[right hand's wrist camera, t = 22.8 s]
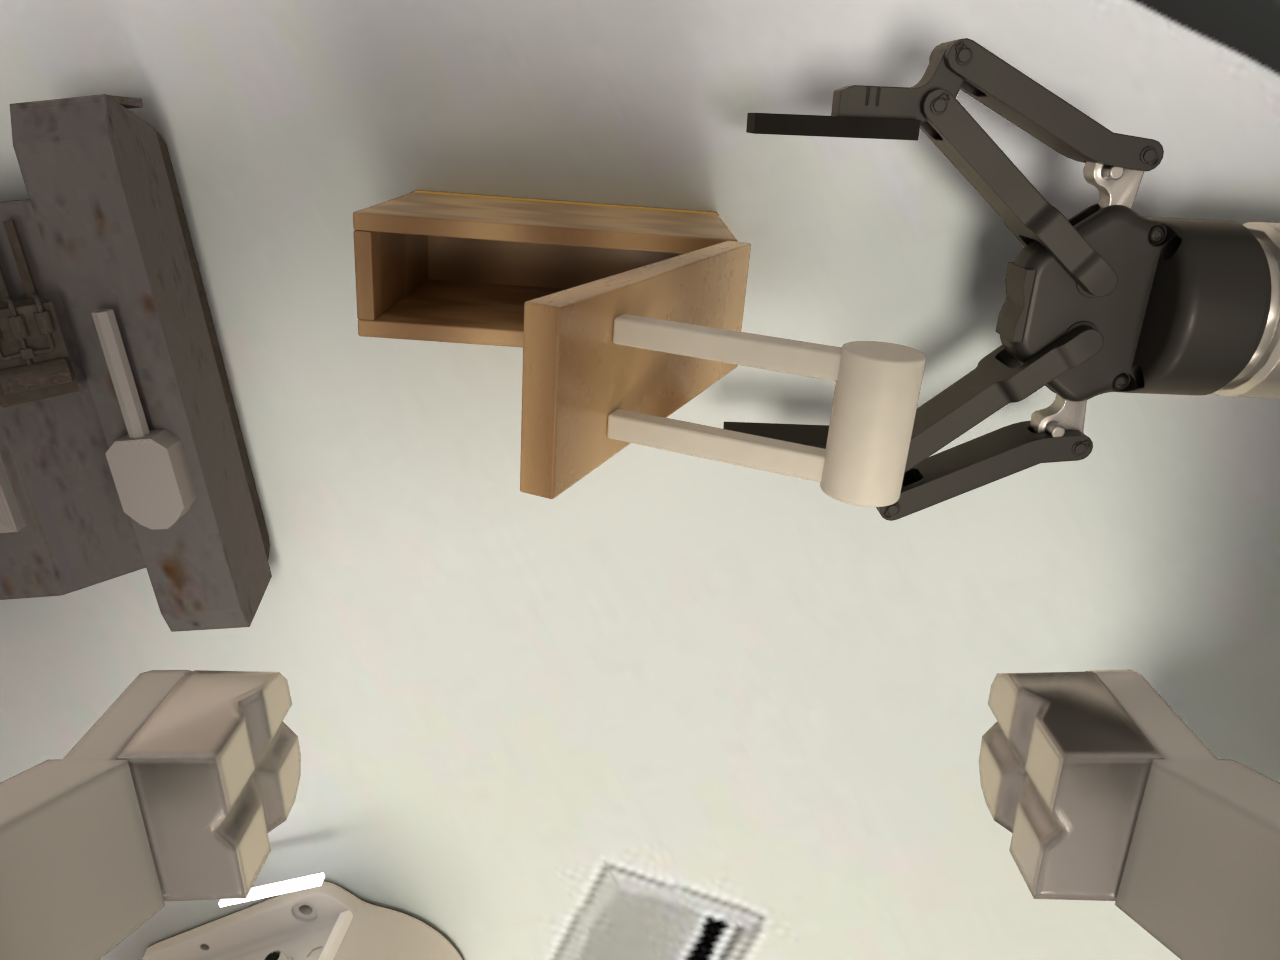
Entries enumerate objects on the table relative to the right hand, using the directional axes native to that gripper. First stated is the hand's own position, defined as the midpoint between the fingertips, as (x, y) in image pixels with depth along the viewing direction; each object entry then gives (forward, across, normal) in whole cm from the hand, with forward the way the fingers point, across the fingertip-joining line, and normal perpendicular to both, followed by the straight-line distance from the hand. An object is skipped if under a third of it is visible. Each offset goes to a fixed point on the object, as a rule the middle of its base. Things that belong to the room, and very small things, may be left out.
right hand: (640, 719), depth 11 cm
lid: (+19, 0, 0) cm, 19 cm away
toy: (+37, +31, +6) cm, 49 cm away
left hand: (+31, -4, +1) cm, 31 cm away
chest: (+37, +4, 0) cm, 37 cm away
